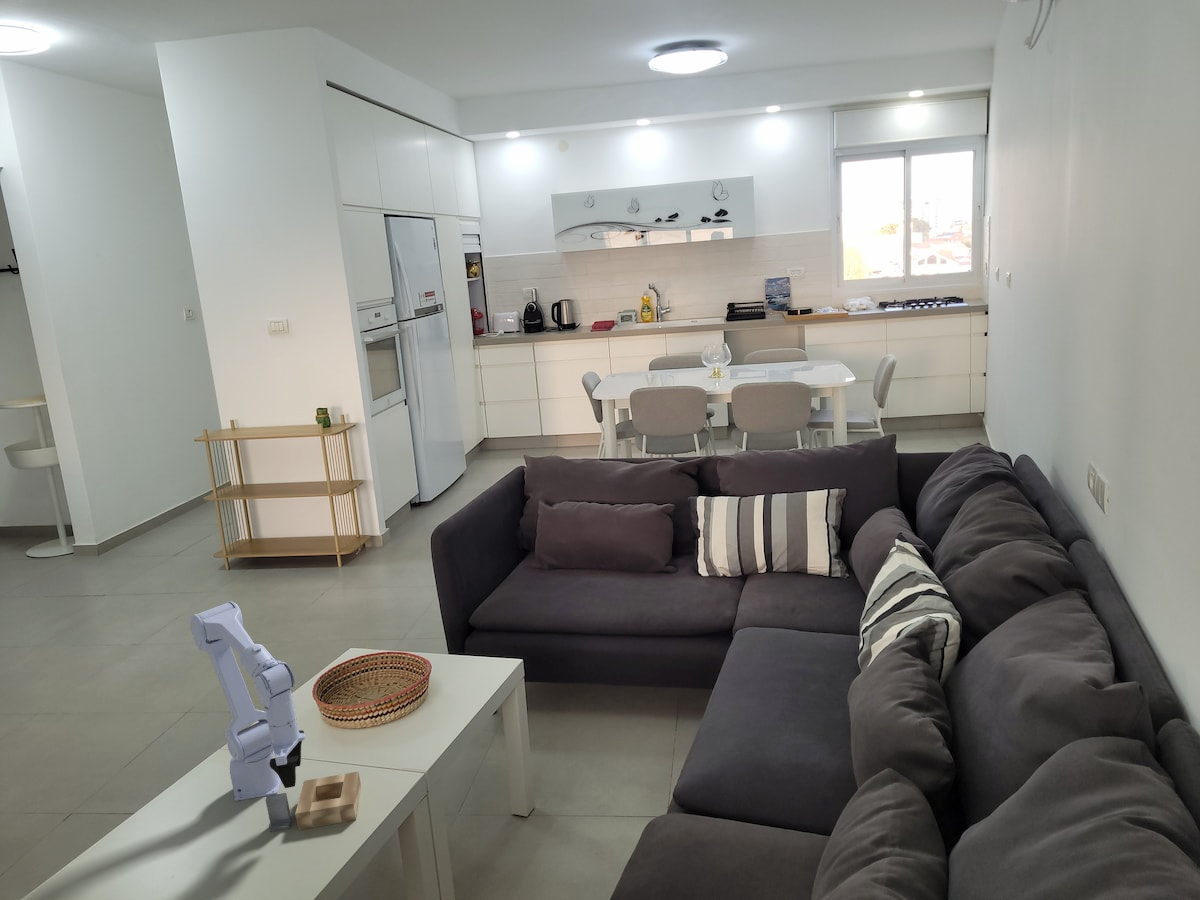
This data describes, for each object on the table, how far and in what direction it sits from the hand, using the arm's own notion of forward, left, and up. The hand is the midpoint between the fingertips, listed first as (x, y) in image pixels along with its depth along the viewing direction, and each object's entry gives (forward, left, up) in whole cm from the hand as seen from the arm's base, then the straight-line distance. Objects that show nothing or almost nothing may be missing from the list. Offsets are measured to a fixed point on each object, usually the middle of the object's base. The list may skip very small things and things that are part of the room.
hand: (292, 776), depth 192 cm
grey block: (-3, -3, -10) cm, 10 cm away
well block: (+7, 0, -10) cm, 12 cm away
